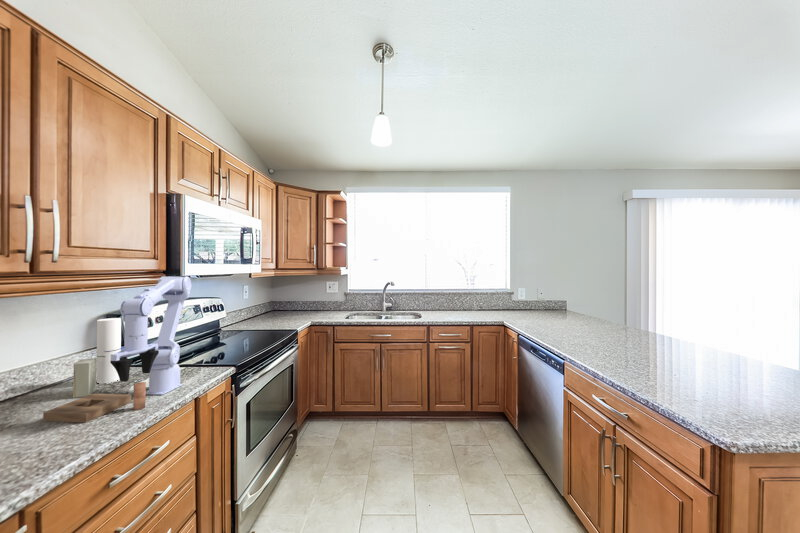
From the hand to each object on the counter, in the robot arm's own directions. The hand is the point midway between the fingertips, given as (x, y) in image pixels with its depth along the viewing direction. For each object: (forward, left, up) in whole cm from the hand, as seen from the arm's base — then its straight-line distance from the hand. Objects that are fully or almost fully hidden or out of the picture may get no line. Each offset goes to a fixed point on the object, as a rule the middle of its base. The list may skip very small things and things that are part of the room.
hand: (135, 376), depth 100 cm
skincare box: (-10, -29, -11) cm, 33 cm away
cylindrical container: (-23, -34, -11) cm, 42 cm away
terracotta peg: (-1, +1, -10) cm, 10 cm away
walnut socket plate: (+2, -13, -10) cm, 17 cm away
